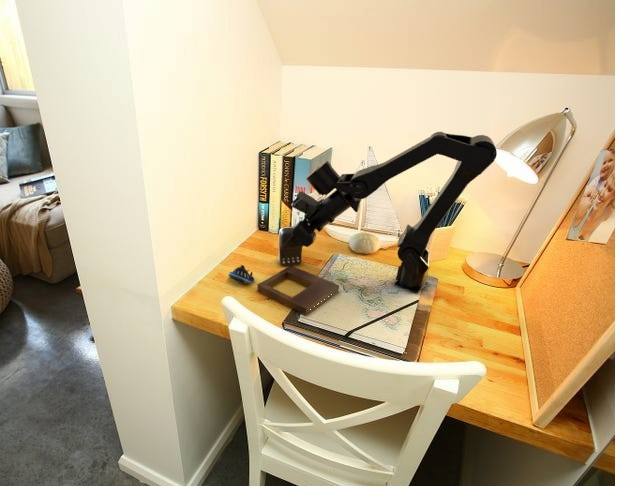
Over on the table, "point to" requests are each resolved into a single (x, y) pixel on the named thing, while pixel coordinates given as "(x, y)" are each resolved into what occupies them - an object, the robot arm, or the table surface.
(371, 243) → the sea urchin shell
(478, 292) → the table surface
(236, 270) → the spaceship
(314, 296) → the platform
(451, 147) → the robot arm
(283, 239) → the battery charger
